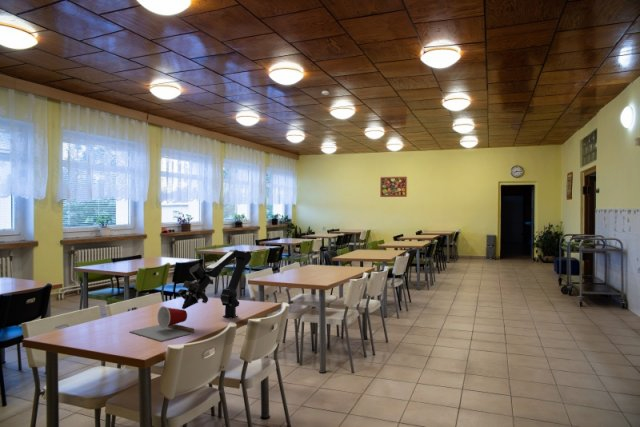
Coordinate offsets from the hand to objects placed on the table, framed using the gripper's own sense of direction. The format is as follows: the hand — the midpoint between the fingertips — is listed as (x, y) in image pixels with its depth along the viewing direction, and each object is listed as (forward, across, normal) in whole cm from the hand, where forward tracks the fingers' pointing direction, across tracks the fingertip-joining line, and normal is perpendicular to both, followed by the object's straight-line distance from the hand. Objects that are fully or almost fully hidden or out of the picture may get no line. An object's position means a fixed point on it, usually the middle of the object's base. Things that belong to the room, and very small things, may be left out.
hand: (182, 308), depth 225 cm
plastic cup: (+2, 0, +4) cm, 4 cm away
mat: (+16, 0, -1) cm, 16 cm away
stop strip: (+9, 0, +5) cm, 10 cm away
